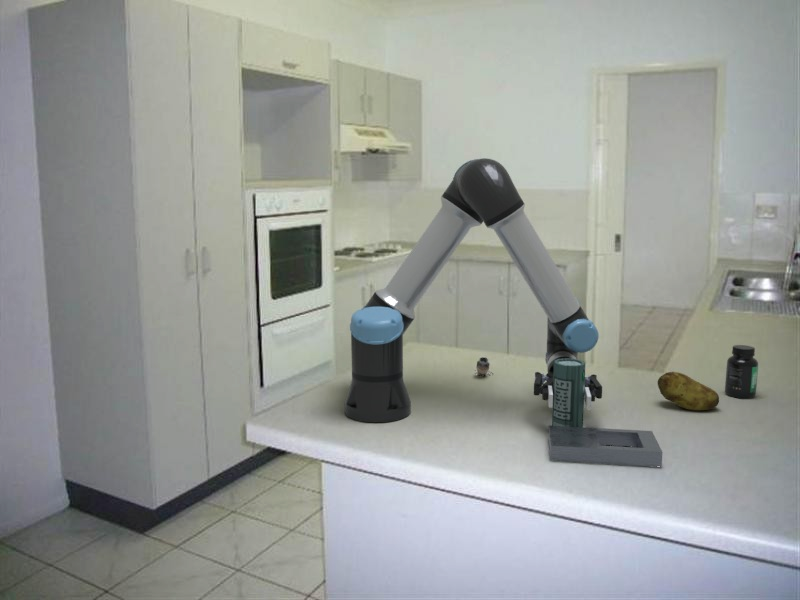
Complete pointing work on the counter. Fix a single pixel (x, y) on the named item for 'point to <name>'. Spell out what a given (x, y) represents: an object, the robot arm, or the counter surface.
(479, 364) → the vase
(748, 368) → the supplement bottle
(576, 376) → the can
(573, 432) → the grey slab with hole
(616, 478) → the counter surface
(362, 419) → the robot arm
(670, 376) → the potato
